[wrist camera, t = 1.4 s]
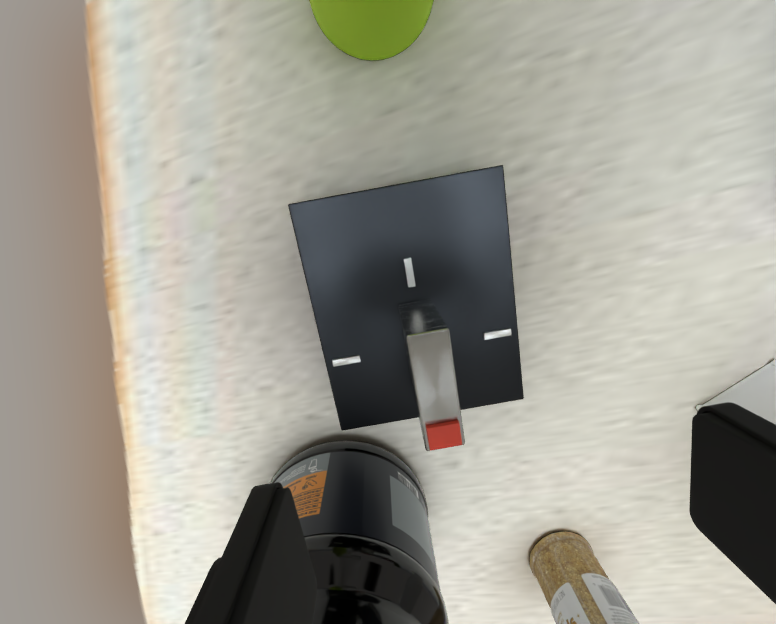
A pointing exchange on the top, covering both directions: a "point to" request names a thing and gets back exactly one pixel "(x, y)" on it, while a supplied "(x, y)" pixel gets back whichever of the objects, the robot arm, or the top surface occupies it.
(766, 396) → the skyscraper
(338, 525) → the supplement container
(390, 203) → the hob panel
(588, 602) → the sprinkles bottle
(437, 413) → the knob
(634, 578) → the top surface
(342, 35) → the lime pump bottle
